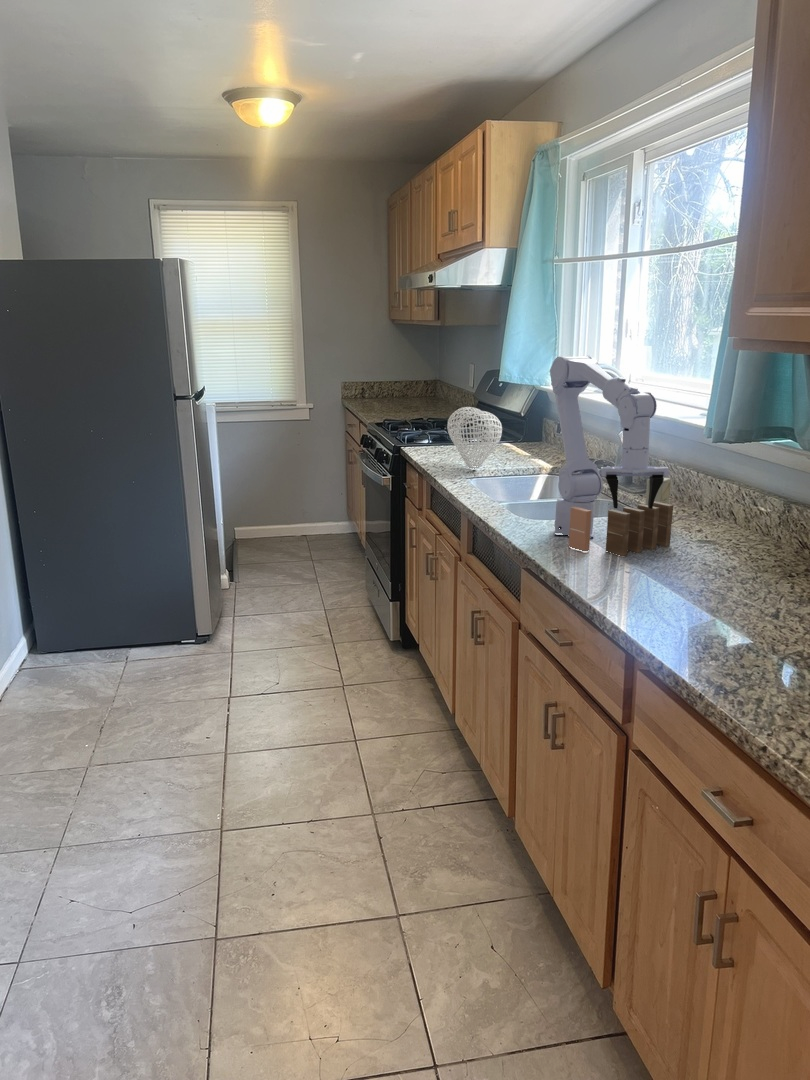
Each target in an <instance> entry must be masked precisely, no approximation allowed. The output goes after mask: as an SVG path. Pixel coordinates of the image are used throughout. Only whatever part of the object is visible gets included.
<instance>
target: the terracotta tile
mask: <svg viewBox="0 0 810 1080" xmlns="http://www.w3.org/2000/svg"><path fill="white" fill-rule="evenodd" d="M590 526H591V510H587V509H583V508H579V507H571V510H570V529H569V536H568V547H569V546H570V547H572V548H575V549H579V550H582V551H588V550H589V551H590V544H591V543H590V542H591V538H590Z"/></svg>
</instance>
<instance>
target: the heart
mask: <svg viewBox="0 0 810 1080" xmlns="http://www.w3.org/2000/svg"><path fill="white" fill-rule="evenodd" d="M479 421H480V422H479ZM471 424H472V425H471ZM446 425H447V426H446V427H447V428H446V429H447V432H448V433H447V434H448V435H449V438H450V440H451V442H452V443H453V445H454V446H455V448H456V450H457V452H459V453H458V454H459V455H460V456H461V458H462V460H463V461H464V463H465V465H466V466H467V468H468V467H469V468H474V469H475V468H479V469H480V468H481V467H482V465H483V464H484V462H485V461H486V460H487V458H488V457H489V456H490V454H491V453H492V452H493V450H495V448H496V447H497V445H498V444H499V443H500V441H501V439H502V435H503V425H502V422H501V421H500V419H499V418H498V417H497V416H496V415H495V414H494V413H491V412H489V411H485V410H481V409H480V408H476V407H473V406H463V407H460V408H458V409H457V410H455V411H454V412H452V413H451V414H450V416H449V418H448V419H447V424H446ZM468 425H469V426H468ZM464 426H465V427H464ZM467 426H468V427H467ZM468 429H469V432H468ZM468 435H469V437H468ZM465 436H466V437H465ZM472 436H473V437H472ZM472 440H473V441H472ZM469 441H470V442H469ZM478 446H479V447H478ZM472 465H473V466H476V467H473V466H472ZM477 466H478V467H477ZM469 468H468V469H469Z"/></svg>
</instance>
